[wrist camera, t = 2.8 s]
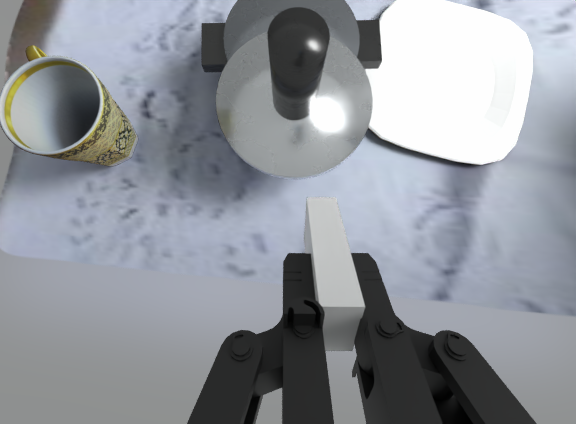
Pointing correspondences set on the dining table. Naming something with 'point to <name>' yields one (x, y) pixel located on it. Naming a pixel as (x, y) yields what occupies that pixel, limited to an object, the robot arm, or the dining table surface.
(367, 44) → the pot
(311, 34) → the lid
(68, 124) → the ceramic cup
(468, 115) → the plate
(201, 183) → the dining table surface
